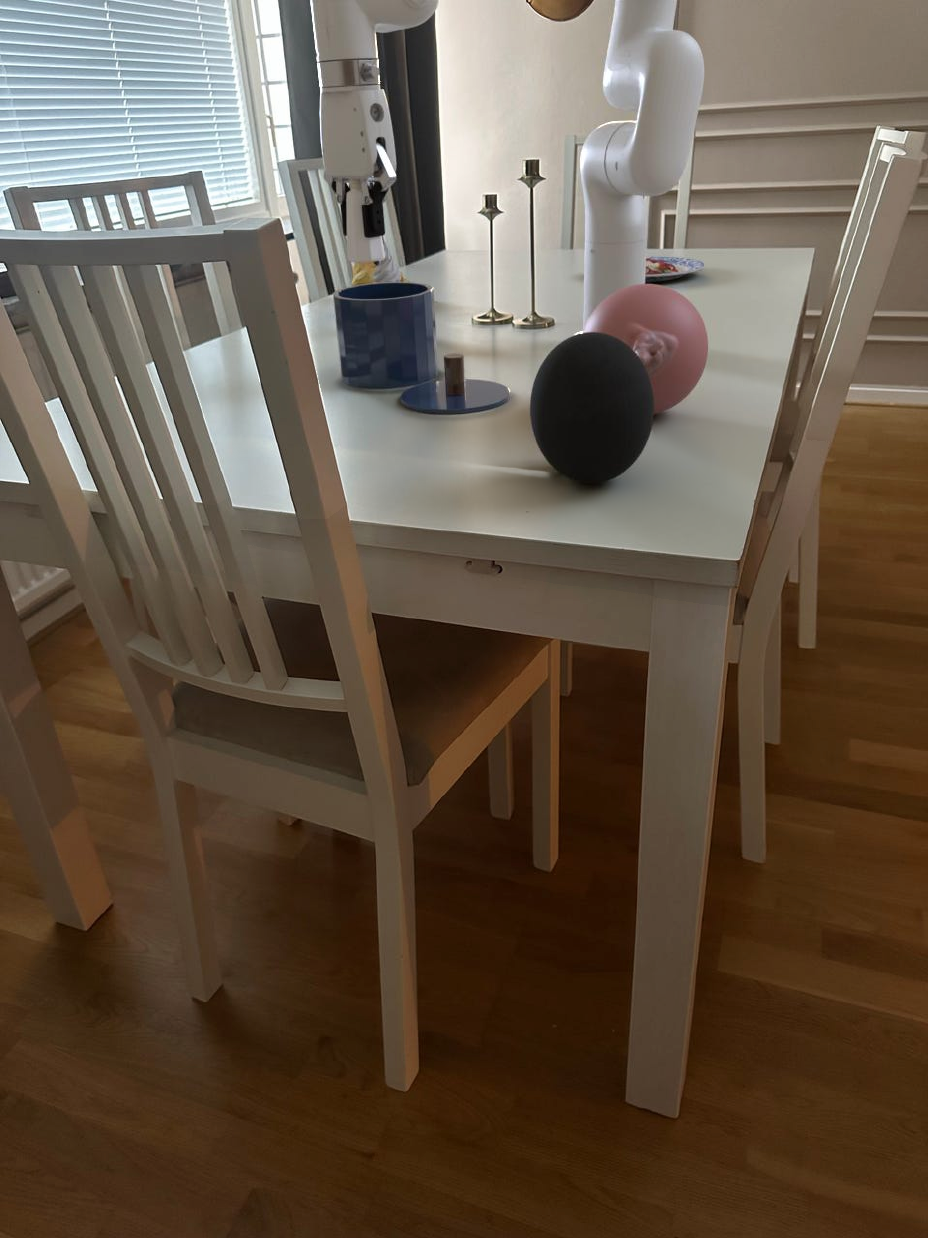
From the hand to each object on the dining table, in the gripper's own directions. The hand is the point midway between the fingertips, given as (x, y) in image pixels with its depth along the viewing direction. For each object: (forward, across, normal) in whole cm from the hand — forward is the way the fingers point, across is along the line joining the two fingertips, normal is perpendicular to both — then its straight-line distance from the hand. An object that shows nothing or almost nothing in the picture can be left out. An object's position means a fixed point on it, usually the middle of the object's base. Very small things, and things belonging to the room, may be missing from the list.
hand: (364, 233), depth 125 cm
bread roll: (+21, +49, -43) cm, 69 cm away
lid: (+20, -16, 0) cm, 25 cm away
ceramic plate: (+21, +20, -94) cm, 98 cm away
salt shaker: (+3, 0, 0) cm, 3 cm away
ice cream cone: (+20, +26, -25) cm, 41 cm away
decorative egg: (+20, -48, +12) cm, 54 cm away
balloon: (+20, -40, -8) cm, 46 cm away
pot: (+20, 0, -2) cm, 20 cm away
